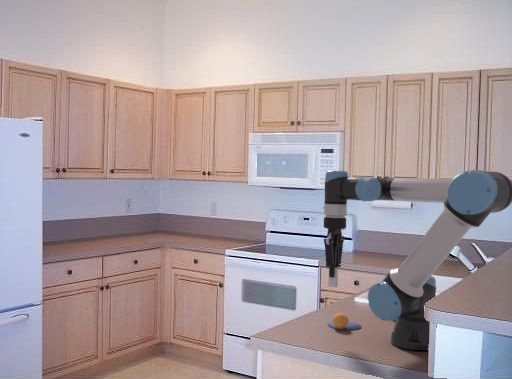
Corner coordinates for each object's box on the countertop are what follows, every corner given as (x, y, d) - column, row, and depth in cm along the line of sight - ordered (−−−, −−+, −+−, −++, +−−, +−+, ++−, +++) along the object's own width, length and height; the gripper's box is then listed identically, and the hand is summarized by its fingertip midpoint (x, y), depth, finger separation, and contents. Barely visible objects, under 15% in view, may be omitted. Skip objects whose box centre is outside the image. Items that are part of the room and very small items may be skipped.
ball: (349, 317, 196) (349, 331, 197) (347, 310, 201) (347, 325, 202) (333, 317, 196) (333, 331, 197) (332, 310, 201) (332, 324, 202)
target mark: (368, 328, 201) (368, 327, 201) (341, 331, 195) (341, 331, 195) (347, 320, 211) (347, 319, 211) (321, 323, 206) (321, 322, 206)
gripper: (332, 215, 198) (329, 282, 198) (317, 216, 186) (314, 288, 187) (352, 216, 194) (350, 284, 194) (338, 218, 183) (336, 291, 183)
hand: (332, 286), depth 191 cm, fingers closed
